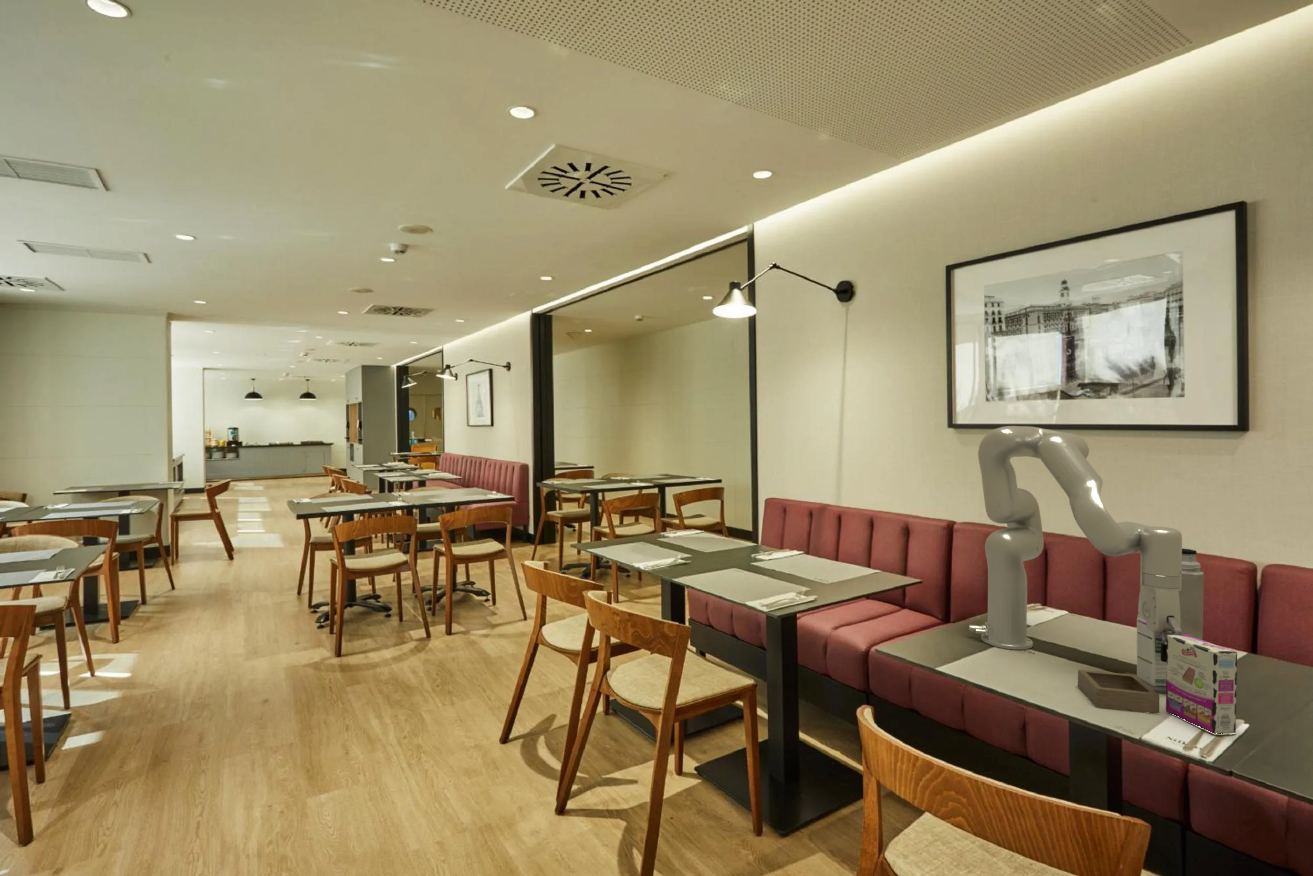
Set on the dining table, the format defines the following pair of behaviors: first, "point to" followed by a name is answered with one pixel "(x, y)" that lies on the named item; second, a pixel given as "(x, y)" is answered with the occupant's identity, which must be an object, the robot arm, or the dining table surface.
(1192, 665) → the candy bar box
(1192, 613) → the thermos bottle
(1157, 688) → the mat
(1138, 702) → the collar
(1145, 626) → the syrup box
